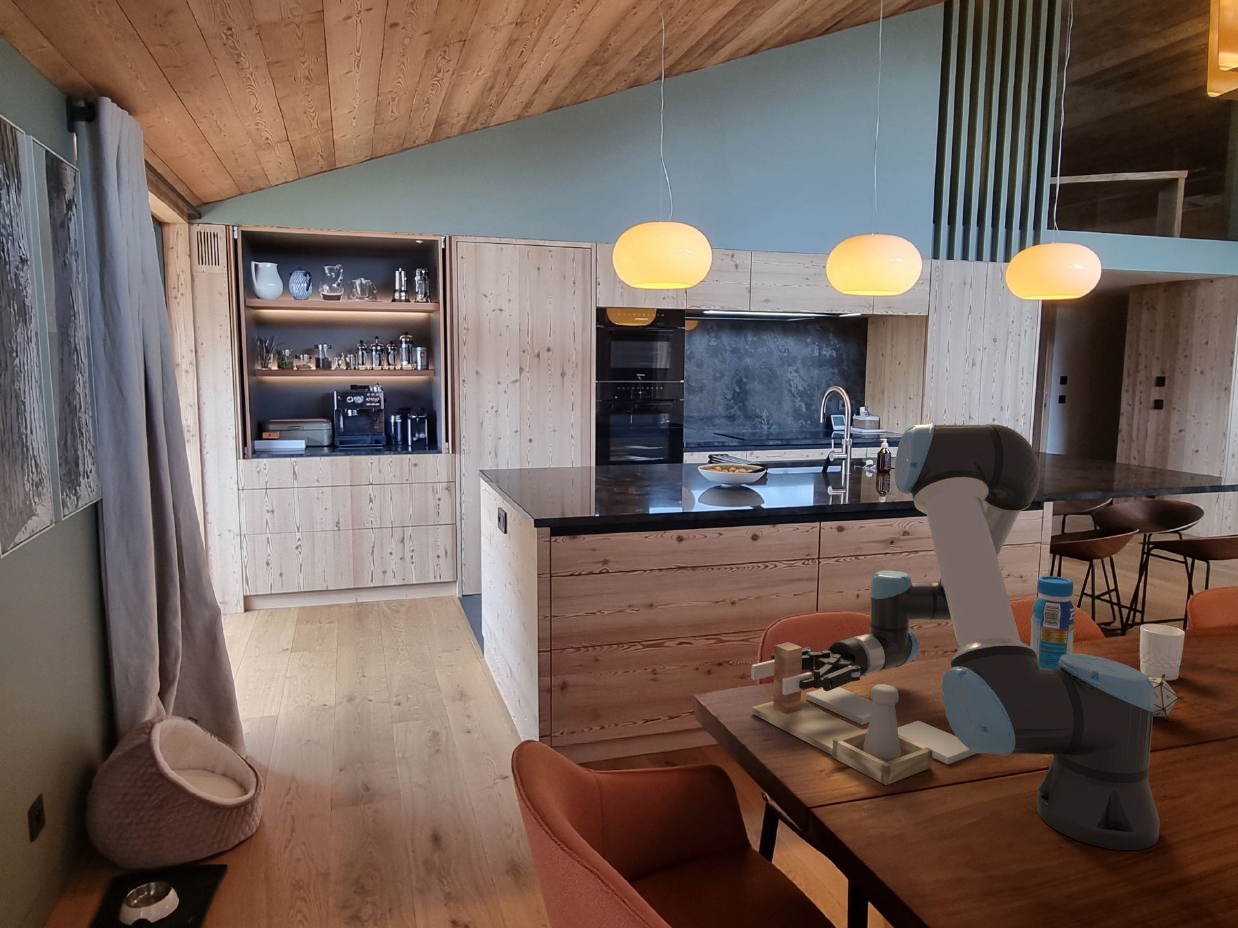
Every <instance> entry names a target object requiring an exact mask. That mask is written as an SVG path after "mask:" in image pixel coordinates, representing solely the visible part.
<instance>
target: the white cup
mask: <svg viewBox="0 0 1238 928" xmlns="http://www.w3.org/2000/svg"><path fill="white" fill-rule="evenodd" d="M1139 632H1140V634H1139V635H1140V637H1139V661H1140V667H1139V669H1140V670H1139V671H1140V672H1141V673H1143V674H1144V675H1146V676H1147V677H1162V675H1163V674H1165V677H1164V679H1165V681H1176V680H1177V679H1179V673H1180V666H1181V663H1182V657H1183V649H1184V642H1185V634H1186V633H1185V631H1184V630H1182V629H1180V628H1178V627H1174V626H1169V625H1166V624H1160V623H1159V624H1156V623H1144V624H1141V625H1140V628H1139Z"/></svg>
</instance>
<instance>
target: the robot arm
mask: <svg viewBox="0 0 1238 928" xmlns="http://www.w3.org/2000/svg"><path fill="white" fill-rule="evenodd" d="M894 462H895V463H894V480H895V486H896V488H897V489H896V490H898V491H899V492H900V493H902V494H904V495H909V494H911V495H912V499H913V504H914V506H915V508H916V509H917V510H918V511H919V512H921V513H923V514H925V515H926V518H927V522H928V525H929V530H930V534H931V539H932V542H933V547H934V551H935V552H934V553H935V555H936V559H937V564H938V568H939V573H940V577H941V578H940V579H939V581H938V582H937V581H936V582H935V581H933V582H932V581H929V582H928V581H926V582H925V581H923V582H922V581H919V582H917V581H912V577H911V575H909V574H908V573H906V572H903V571H898V570H878V571H877V572H875V573H874V574H873V575H872V579H871V587H870V593H869V595H870V603H869V604H870V607H869V610H870V611H869V613H870V614H869V616H870V618H869V631H868V633H865V634H861V635H857V636H856V635H855V636H853V637H849V638H845V639H841V640H837V641H835V642H833V643H832V644H831V645H830V646H829V647H828V649H827V650H821V651H818V652H814V651H813V649H812V647H810V646H806V647H802V671H804V670H807V671H808V672H805V673H801V674H800V675H796V676H793V677H789V678H785V679H783V688H782V694H784V695H787V694H791V693H795V692H798V691H801V692H802V691H805V690H809V689H812V688H814V689H816V690H819V689H821V688H822V689H823V690H824V691H830V690H832V689H835V688H837V687H840V688H841V687H842V686H844V685H847V684H849V683H851V682H858V681H860V680H861V677H862V676H863V677H866V676H867V675H869V674H874V673H878V672H882V671H885V670H889V669H893V668H899V667H902V666H904V665H908V664H909V663H911V662H913V661H914V660H915V659H916V658H917V656H918V654H919V650H920V644H919V642H918V639H917V635H916V634H915V633H914V631H913V630H911V629H910V628H909V627H910V625H909V623H910V621H911V620H912V621H919V620H920V621H921V620H922V621H928V620H929V621H933V620H934V621H951V624H952V629H953V632H954V637H955V641H956V645H957V652H956V653H955V654H954V655H953V656H952V657H951V659H950V667H951V668H950V669H948V670H947V671H945V673H944V675H943V677H942V682H941V691H942V693H943V694H942V703H943V707H944V708H943V709H944V712H945V716H946V718H947V721H948V723H949V726H950V728H951V730H952V732H953V734H954V736H956V737H957V738H958V739H959V740H960V741H961V742H962V743H963V744H964V745H965V746H966V747H967V748H968V749H970V750H972V751H974V752H978V753H977V754H989V755H990V754H992V755H993V754H994V755H998V756H1001V757H1003V756H1004V757H1006V756H1008V755H1053V756H1052V761H1051V763H1050V764H1049V767H1048V769H1047V771H1046V773H1045V775H1044V777H1043V779H1042V781H1041V783H1040V785H1039V787H1038V790H1037V793H1036V805H1035V806H1036V812H1037V814H1038V816H1039V817H1040V819H1042V820H1043V821H1044V822H1045V823H1046V824H1047V825H1048V826H1050V827H1051V828H1052V829H1054V830H1056V831H1057V832H1059V833H1061V834H1063V835H1065V836H1067V837H1069V838H1071V839H1073V840H1076V841H1079V842H1081V843H1084V844H1088V845H1091V846H1096V847H1098V848H1104V849H1110V850H1117V851H1137V850H1145V849H1147V848H1151V847H1153V846H1154V845H1156V843H1157V842H1159V841H1158V840H1159V838H1160V826H1161V823H1160V817H1159V813H1158V811H1157V807H1156V803H1155V799H1154V796H1153V793H1152V790H1151V786H1150V783H1149V768H1150V759H1151V758H1150V756H1151V745H1152V733H1153V732H1152V731H1153V718H1154V716H1153V712H1155V707H1154V687H1153V684H1152V682H1151V680H1150V679H1149V678H1148V676H1146V675H1144V674H1143V673H1141V671H1140V670H1138V669H1136V668H1133V667H1132V666H1129V665H1127V664H1125V663H1121V662H1118V661H1116V660H1111V659H1109V658H1104V657H1100V656H1096V655H1090V654H1086V653H1078V652H1075V653H1073V652H1072V653H1068V654H1065V655H1062V656H1061V657H1060V660H1059V661H1058V665H1059V668H1041V667H1040V665H1039V662H1038V659H1037V656H1036V652H1035V650H1034V649H1033V648H1032V647H1030V645H1028V644H1027V643H1026V642H1025V643H1024V642H1023V641H1021V638H1020V634H1019V632H1018V631H1019V630H1018V627H1017V624H1016V621H1015V617H1014V616H1015V615H1014V613H1013V610H1012V606H1011V603H1010V598H1009V595H1008V592H1007V591H1008V590H1007V588H1006V585H1005V580H1004V577H1003V574H1002V570H1001V567H1000V562H999V559H998V557H999V554H1000V552H1001V551H1002V548H1003V546H1004V544H1005V542H1006V541H1007V538H1008V536H1009V534H1010V532H1011V530H1012V529H1013V526H1014V524H1015V522H1016V520H1017V519H1018V516H1019V514H1020V513H1021V512H1022V511H1024V510H1026V509H1028V508H1029V507H1030V506H1031V505H1032V503H1033V500H1034V498H1035V497H1036V494H1037V492H1038V489H1039V487H1040V481H1041V480H1040V479H1041V469H1040V468H1041V467H1040V462H1039V458H1038V456H1037V454H1036V452H1035V449H1034V448H1033V446H1032V445H1031V444H1030V442H1029V441H1028V440H1027V439H1026V438H1025V437H1024V436H1023V435H1022V434H1020V433H1019V432H1018V431H1016V430H1015V429H1013V428H1010V427H1007V426H1005V425H1001V424H992V423H990V424H935V423H933V422H932V423H929V424H914V425H912V426H909V427H907V428H906V429H905V431H904V432H903V433H902V435H901V437H900V440H899V443H898V446H897V451H896V456H895V461H894ZM774 660H775V652H774V653H771V654H770V660H767V661H762V662H760V663H759V662H758V663H754V664H751V672H750V673H751V674H750V675H751V677H750V678H751V680H752V681H758V680H761V679H765V678H768V677H774Z"/></svg>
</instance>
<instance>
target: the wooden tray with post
mask: <svg viewBox="0 0 1238 928" xmlns="http://www.w3.org/2000/svg"><path fill="white" fill-rule="evenodd" d="M802 649H803V647H802V646H799V645H797V644H794V643H793V642H792V643H791V642H789V641H787V642H784V643H779V644H775V645H774V653H775V660H774V675H773V697H772V698H773V701H770V702H765V703H762V704H758V705H754V706H752V707H751V714H752V715H754V716H756V717H758V718H760V719H762V720H763V721H765V722H767V723H769V724H771V725H773V726H775V727H777V728H779V729H781V730H783V731H785V732H787V733H788V734H790V735H792V736H795V737H797V738H798V739H800V740H802V741H804V742H806V743H807V744H810V745H811V746H813V747H815V748H817V749H819V750H821V751H823V752H826V753H827V754H829V755H831V756H832V758H833V759H834V760H836V761H839V762H841V763H842V764H844V765H847V766H848V767H850V768H852V769H854V770H856V771H858V772H859V773H862V774H864V775H865V776H867V777H869V778H871V779H874V780H875V781H877V782H879V783H881V784H883V785H885V786H887V785H888V786H889V785H891V784H892V783H896V782H899V781H901V780H903V779H906V778H908V777H910V776H913V775H916V774H918V773H922V772H924V771H926V770H929V769H931V768H932V767H933V757H932V751H933V750H932V749H930V748H928V747H925V746H923V745H921V744H919V743H917V742H914V741H912V740H910V739H908V738H906V737H903V736H901V735H899V734H898V736H899V743H900V751H901V754H900V757H899V758H897V759H894V760H891V761H889V762H884V761H882V760H880V759H878V758H876V757H874V756H872V755H870V754H868V753H866V752H864V742H865V738H866V735H867V731H868V728H866V729H865V728H864V729H863V728H860V727H858V726H856V725H855V724H854V725H853V724H852V723H850V722H847V721H845V720H842V719H841V718H838V717H837V716H834V715H832V714H830V713H828V712H826V711H823V710H821V709H819V708H817V707H815V706H813V705H811V704H809V703H806V702H804V701H802V700H801V699H802V698H801V697H802V691H798V692H795V693H791V694H787V695H784V694H782V688H783V679H785V678H789V677H793V676H796V675H800V674H802V671H803V670H802Z"/></svg>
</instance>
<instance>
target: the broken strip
mask: <svg viewBox="0 0 1238 928" xmlns="http://www.w3.org/2000/svg"><path fill="white" fill-rule="evenodd" d="M805 699H806V700H807V701H809V702H812V703H813V704H816V705H817V706H820V707H822V708H824V709H827V710H829V711H831V712H833V713H836V714H838V715H840V716H842V717H844V718H846V719H848V720H850V721H853V722H855V723H856V724H859V725H862V726H863V725H866V724H869V723H870V719H871V716H872V712H873V707H874V703H875V702H874V701H873V700H872V699H869V698H866V697H864V696H861V695H859V694H857V693H854V692H852V691H850V690H847V689H846V688H842V687H841V686H840V687H837V688H835V689H832V690H830V691H824V690H823V688H819V689H816V690H813V691H809V692H805ZM897 728H898V734H899V735H901V736H903V737H906V738H908V739H910V740H912V741H914V742H917V743H919V744H921V745H923V746H925V747H928V748H930V749H932V750H933V751H932V759H935V760H937V761H939V762H941V763H944V764H946V765H950V764H951V765H952V764H953V763H955V762H958V761H961V760H964V759H966V758H969V757H970V756H973V755H976V754H979V753H978V752H974V751H972V750H970V749H968V748H967V747H966V746H965V745H964V744H963V743H962V742H961V741H960V740H959V739H958V738H957V736H956V735H955V734H954V735H953V734H951V733H950V732H949V733H948V732H946V731H944V730H942V729H939V728H937V727H934V726H932V725H930V724H928V723H925V722H923V721H921V720H916V721H913V722H909V723H908V724H904V725H902V726H897Z"/></svg>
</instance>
